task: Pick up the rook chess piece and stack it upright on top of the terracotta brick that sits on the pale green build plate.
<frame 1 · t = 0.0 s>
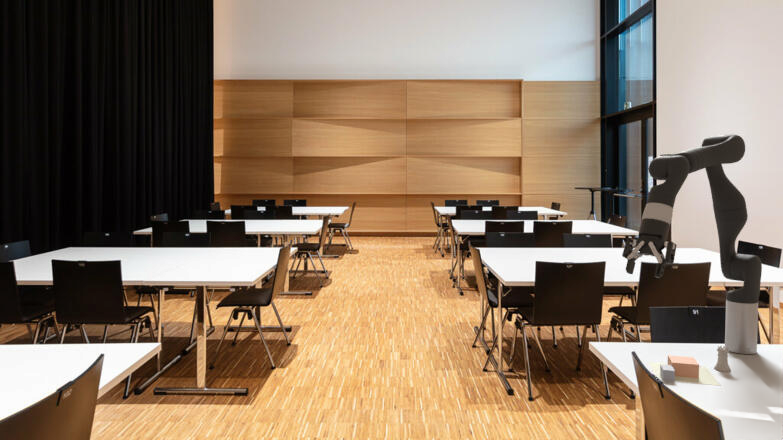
hand: (642, 275, 151), 31 cm above the table, tool tilted 20°, fingers open, 8 cm apart
slate brick: (667, 377, 154), point 1 cm above the table, touching build plate
terracotta brick: (682, 373, 158), point 1 cm above the table, touching build plate
build plate: (682, 377, 158), on the table
rook chess piece: (722, 374, 161), on the table
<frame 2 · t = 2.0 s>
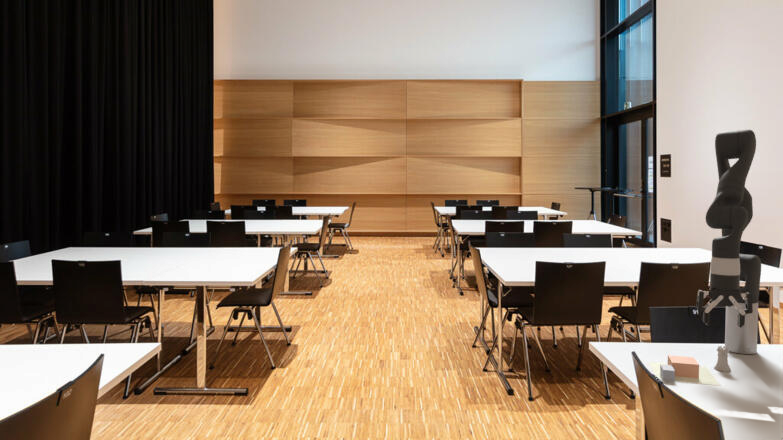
hand: (723, 325, 160), 15 cm above the table, tool pointing down, fingers open, 8 cm apart
nothing on the table moved.
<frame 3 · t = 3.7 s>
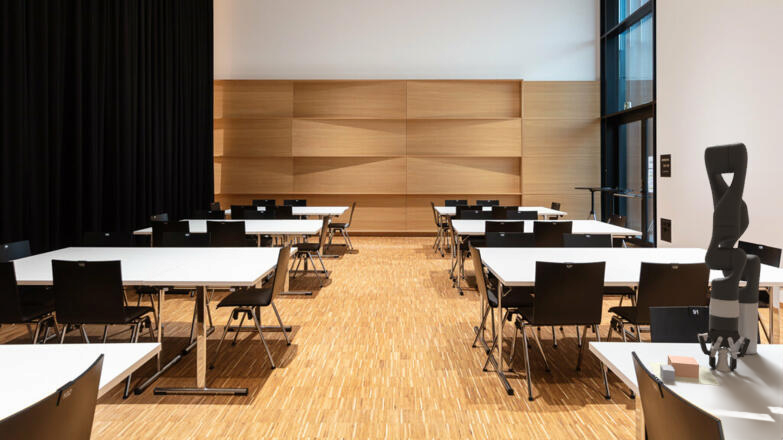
hand: (722, 369, 161), 1 cm above the table, tool pointing down, fingers closed on rook chess piece, 4 cm apart
rook chess piece: (722, 373, 161), on the table, touching gripper
everything else where it was.
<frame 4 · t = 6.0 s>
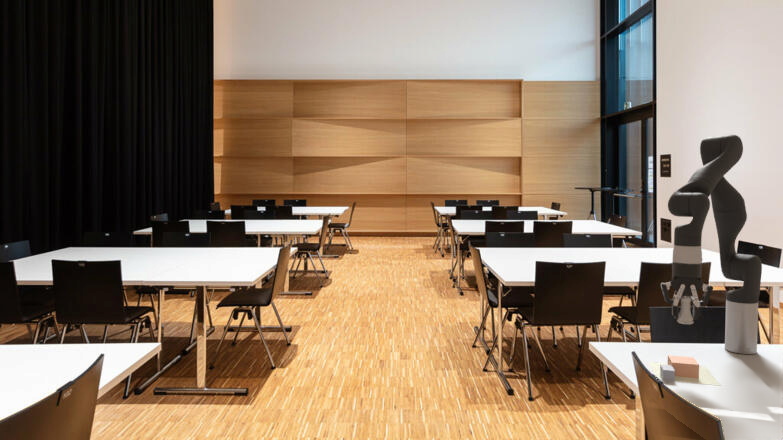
hand: (685, 318, 157), 18 cm above the table, tool pointing down, fingers closed on rook chess piece, 4 cm apart
rook chess piece: (685, 323, 157), point 16 cm above the table, touching gripper
everything else where it was.
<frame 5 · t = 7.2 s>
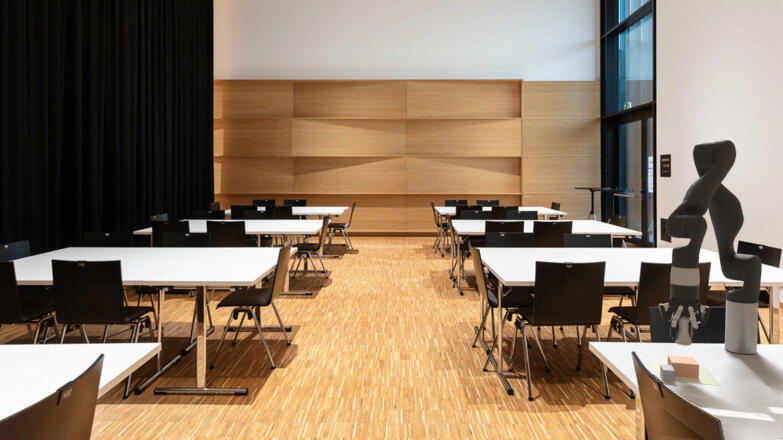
hand: (683, 339, 157), 11 cm above the table, tool pointing down, fingers closed on rook chess piece, 4 cm apart
rook chess piece: (683, 344, 157), point 10 cm above the table, touching gripper
everything else where it was.
when the fingers open (7 cm above the table, at t = 8.3 s): rook chess piece stays where it is, resting on terracotta brick.
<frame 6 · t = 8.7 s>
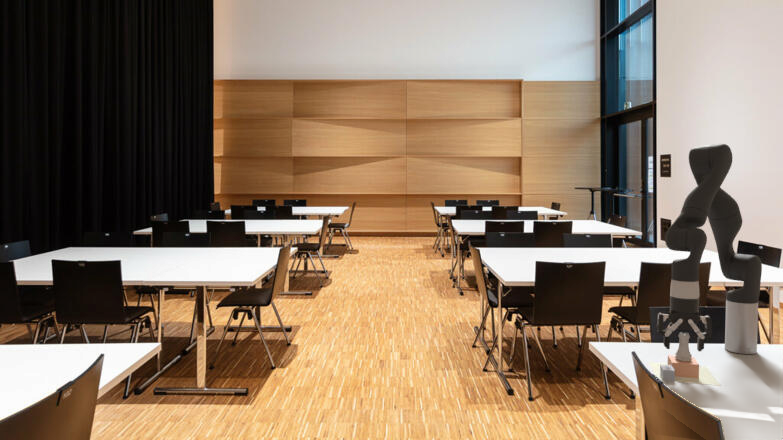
hand: (683, 349, 157), 8 cm above the table, tool pointing down, fingers open, 8 cm apart
terracotta brick: (682, 373, 158), point 1 cm above the table, touching build plate, rook chess piece
rook chess piece: (683, 360, 157), point 5 cm above the table, touching terracotta brick
everything else where it was.
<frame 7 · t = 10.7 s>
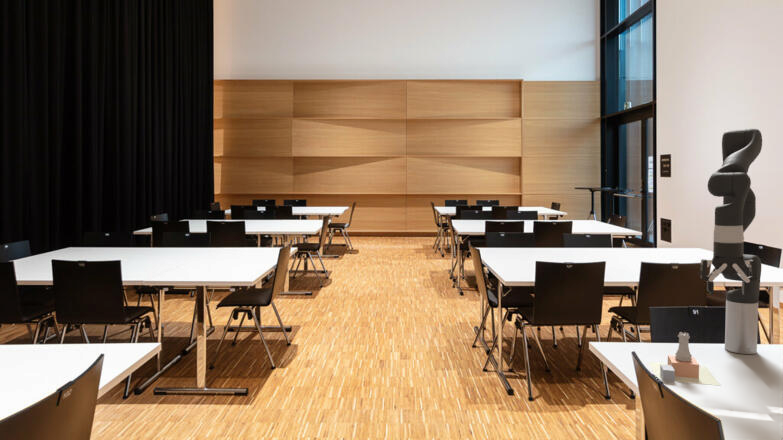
hand: (727, 294, 159), 24 cm above the table, tool pointing down, fingers open, 8 cm apart
nothing on the table moved.
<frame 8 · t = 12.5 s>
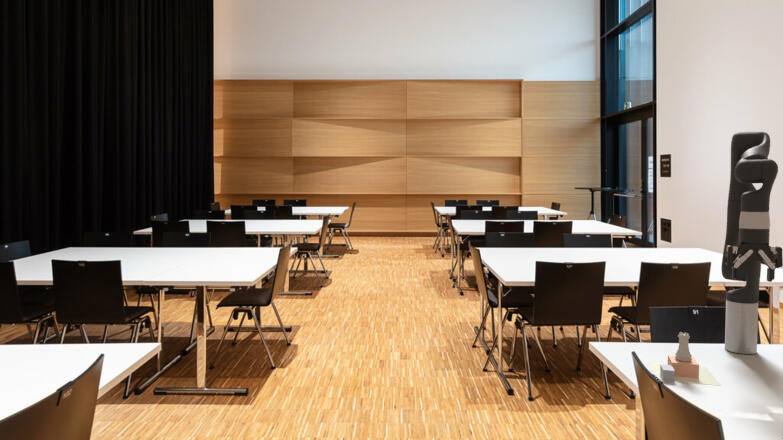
hand: (752, 280, 159), 28 cm above the table, tool pointing down, fingers open, 8 cm apart
nothing on the table moved.
at the end: rook chess piece 0.1 cm off-centre on the terracotta brick, point 3.8 cm above the terracotta brick's base; rook chess piece tilted 0°; the gripper is holding nothing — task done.
